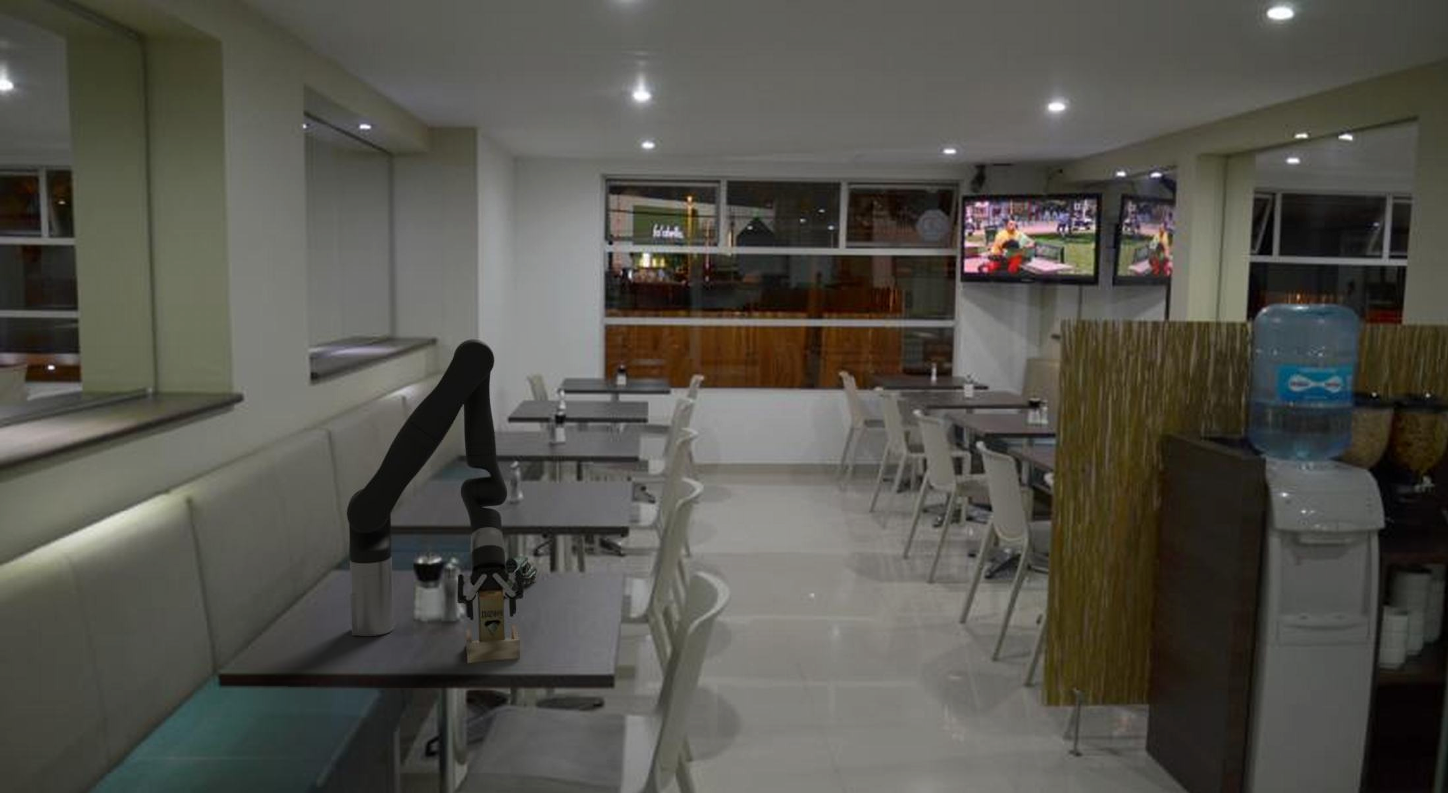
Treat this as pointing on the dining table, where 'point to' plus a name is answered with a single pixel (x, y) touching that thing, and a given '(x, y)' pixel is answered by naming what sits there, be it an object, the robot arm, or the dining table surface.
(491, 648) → the bay
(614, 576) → the dining table surface
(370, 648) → the dining table surface
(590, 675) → the dining table surface
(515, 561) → the hoverbike
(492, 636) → the shoe polish box
